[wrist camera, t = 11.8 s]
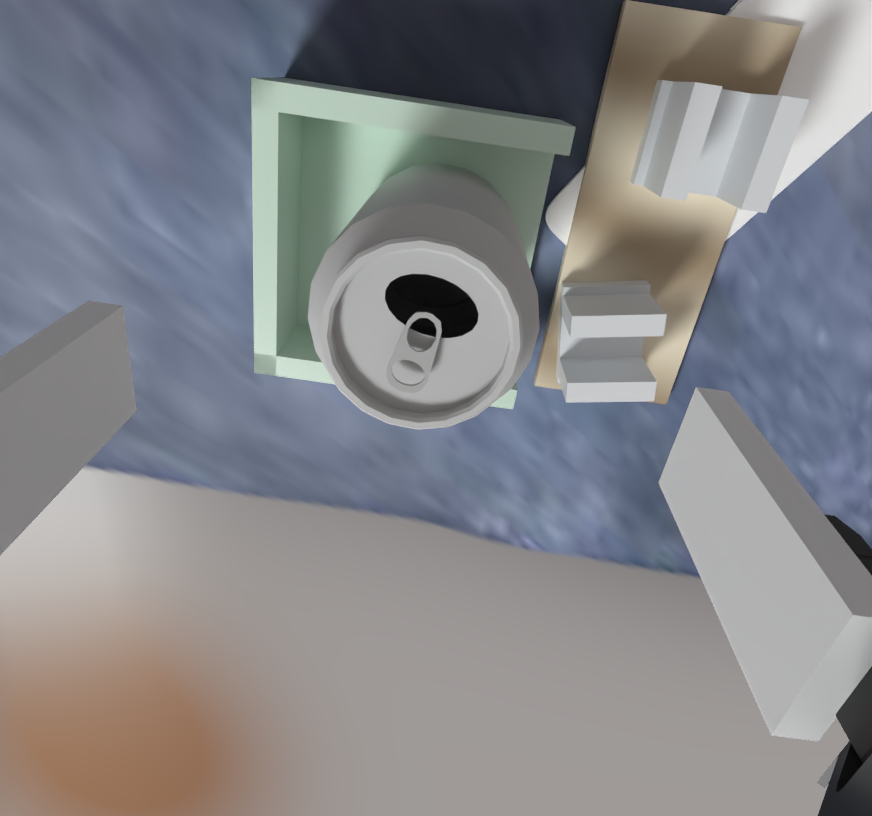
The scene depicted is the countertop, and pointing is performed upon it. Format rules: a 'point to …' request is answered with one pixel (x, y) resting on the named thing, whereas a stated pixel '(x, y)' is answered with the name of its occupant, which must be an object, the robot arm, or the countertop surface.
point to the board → (638, 206)
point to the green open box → (365, 187)
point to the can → (426, 300)
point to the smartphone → (795, 87)
